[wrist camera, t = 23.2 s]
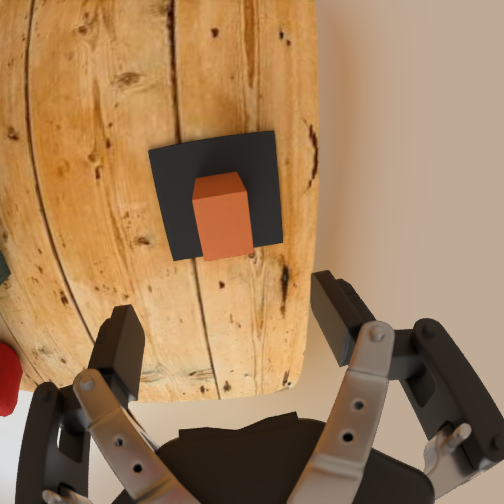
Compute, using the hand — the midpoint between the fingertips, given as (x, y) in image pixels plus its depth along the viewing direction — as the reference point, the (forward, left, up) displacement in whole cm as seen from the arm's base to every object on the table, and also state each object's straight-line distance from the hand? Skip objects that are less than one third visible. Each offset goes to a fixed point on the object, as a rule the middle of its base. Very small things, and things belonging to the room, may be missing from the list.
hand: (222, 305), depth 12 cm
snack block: (+1, +1, -17) cm, 17 cm away
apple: (+20, -43, -18) cm, 51 cm away
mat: (+1, +1, -17) cm, 17 cm away
